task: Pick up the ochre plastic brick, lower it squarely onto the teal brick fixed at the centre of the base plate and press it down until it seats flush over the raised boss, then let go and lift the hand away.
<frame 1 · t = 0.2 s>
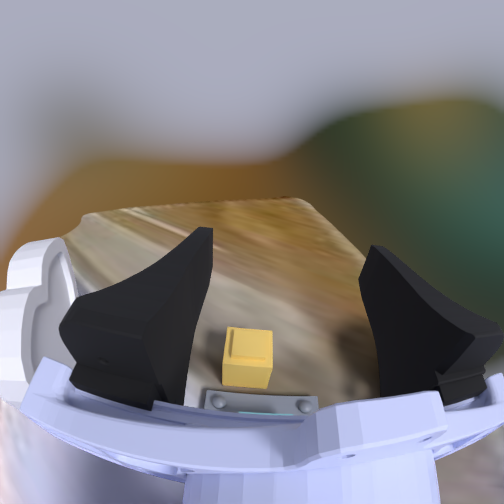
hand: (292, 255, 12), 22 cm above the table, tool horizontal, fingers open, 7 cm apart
ochre brick: (245, 369, 30), on the table
heart sculpture: (94, 400, 23), on the table
base plate: (260, 448, 22), on the table
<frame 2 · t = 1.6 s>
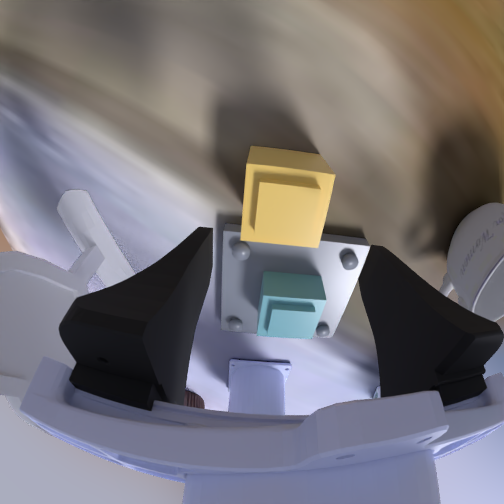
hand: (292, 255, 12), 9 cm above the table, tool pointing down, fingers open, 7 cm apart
cupcake: (182, 396, 42), on the table
teacup: (461, 242, 22), on the table
ochre brick: (281, 181, 20), on the table
heart sculpture: (99, 247, 24), on the table
base plate: (287, 286, 25), on the table
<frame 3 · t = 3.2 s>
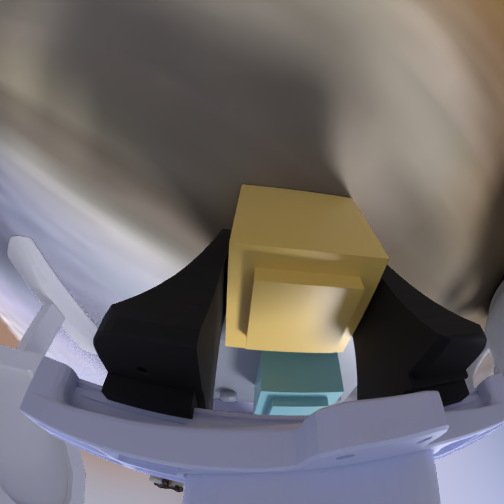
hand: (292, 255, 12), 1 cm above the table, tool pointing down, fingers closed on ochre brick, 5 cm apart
cupcake: (175, 436, 35), on the table
teacup: (501, 293, 15), on the table
ochre brick: (290, 238, 13), on the table, touching gripper
heart sculpture: (59, 303, 18), on the table
base plate: (292, 357, 19), on the table
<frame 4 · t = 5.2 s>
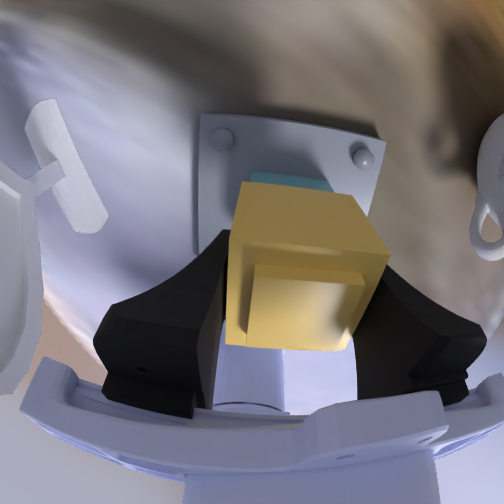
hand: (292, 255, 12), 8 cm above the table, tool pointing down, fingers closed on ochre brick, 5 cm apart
teacup: (488, 165, 16), on the table
ochre brick: (290, 235, 13), point 7 cm above the table, touching gripper
heart sculpture: (62, 168, 18), on the table
base plate: (284, 202, 19), on the table
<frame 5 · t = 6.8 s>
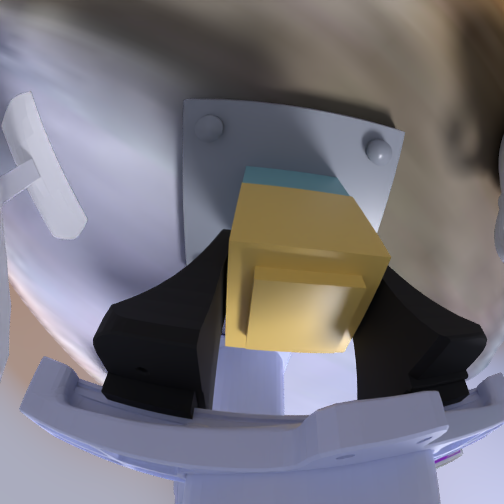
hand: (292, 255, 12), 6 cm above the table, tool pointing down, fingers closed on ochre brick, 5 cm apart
ochre brick: (290, 237, 13), point 4 cm above the table, touching base plate, gripper
heart sculpture: (39, 167, 15), on the table
base plate: (284, 203, 16), on the table
when the fingers open (6 cm above the table, at t = 7.5 s): ochre brick stays where it is, resting on base plate.
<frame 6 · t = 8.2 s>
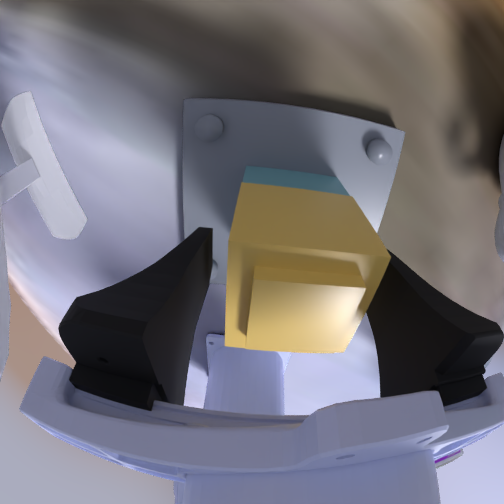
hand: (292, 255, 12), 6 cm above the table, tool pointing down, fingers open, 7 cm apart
ochre brick: (290, 237, 13), point 4 cm above the table, touching base plate
heart sculpture: (38, 167, 15), on the table
base plate: (285, 203, 16), on the table
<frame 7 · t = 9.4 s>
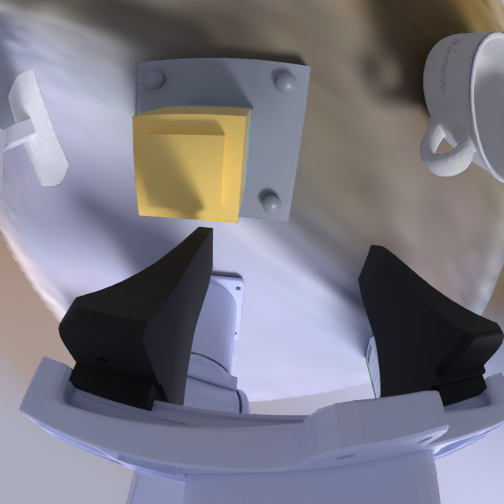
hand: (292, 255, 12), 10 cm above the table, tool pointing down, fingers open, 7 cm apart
teacup: (443, 99, 15), on the table
ochre brick: (205, 146, 15), point 4 cm above the table, touching base plate
heart sculpture: (35, 127, 18), on the table
syrup box: (386, 342, 32), on the table
base plate: (217, 136, 19), on the table
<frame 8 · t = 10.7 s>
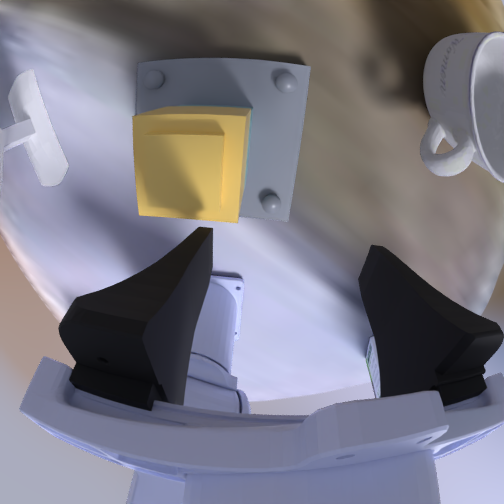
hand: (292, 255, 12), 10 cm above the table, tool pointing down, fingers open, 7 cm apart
teacup: (443, 99, 15), on the table
ochre brick: (205, 146, 15), point 4 cm above the table, touching base plate
heart sculpture: (35, 127, 18), on the table
syrup box: (386, 342, 32), on the table
base plate: (217, 136, 19), on the table
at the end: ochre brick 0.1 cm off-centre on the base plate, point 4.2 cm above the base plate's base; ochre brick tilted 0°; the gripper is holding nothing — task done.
